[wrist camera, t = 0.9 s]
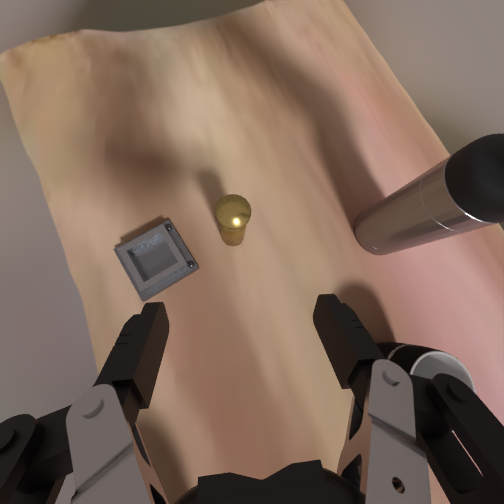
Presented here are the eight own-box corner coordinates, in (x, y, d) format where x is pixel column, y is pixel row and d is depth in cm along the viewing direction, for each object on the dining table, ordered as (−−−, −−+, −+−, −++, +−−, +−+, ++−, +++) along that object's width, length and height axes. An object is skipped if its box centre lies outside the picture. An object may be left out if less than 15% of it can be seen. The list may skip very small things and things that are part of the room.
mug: (394, 328, 36) (455, 340, 26) (416, 381, 35) (490, 415, 25) (333, 352, 34) (375, 374, 24) (354, 410, 33) (407, 458, 23)
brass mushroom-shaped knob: (236, 218, 38) (238, 188, 27) (250, 239, 37) (258, 216, 27) (215, 231, 37) (208, 204, 26) (228, 252, 36) (227, 234, 26)
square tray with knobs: (170, 221, 36) (165, 215, 34) (199, 268, 35) (196, 266, 33) (116, 250, 34) (106, 246, 32) (144, 301, 33) (137, 301, 31)
